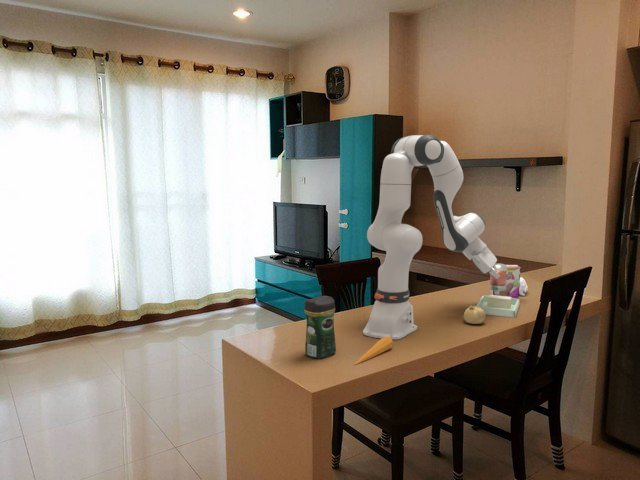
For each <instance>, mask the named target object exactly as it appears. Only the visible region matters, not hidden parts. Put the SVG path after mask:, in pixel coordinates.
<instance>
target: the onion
mask: <svg viewBox="0 0 640 480" xmlns="http://www.w3.org/2000/svg"><path fill="white" fill-rule="evenodd" d="M475 306H476V305H469V307H467V308H466V309H465V310H464V313H463V318H464V321H465V322H466V323H468V324H471V325H481V324H482V325H483V323H484V322H485V320H486V317H487V316H486V315H487V314H485V312H484V310H482V309H481V308H479V307H475Z"/></svg>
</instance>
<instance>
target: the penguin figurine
mask: <svg viewBox="0 0 640 480" xmlns="http://www.w3.org/2000/svg"><path fill="white" fill-rule="evenodd" d="M528 287H529V286H528V284H527V282H526V280H525V279H524V278H523V277H522V276H520V286H519V296H522V297H525V296H526V293H527V292H528Z"/></svg>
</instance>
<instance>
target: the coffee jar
mask: <svg viewBox="0 0 640 480" xmlns="http://www.w3.org/2000/svg"><path fill="white" fill-rule="evenodd" d="M335 312H336V304H335V299H334V298H333V297H332V296H328V295H321V296H317V297H313V298H310V299H309V298H308V299H306V300H305V301H304V314H305V317H306V329H305V334H306V335H305V345H304V348H305V349H304V351H305V355H306V356H307V357H309V358H312V359H314V358H315V359H323V358H326V357H329V356H331V355H334V354H336V351H337V345H336V344H337V343H336V336H335V323H334V322H335V321H334V320H335V318H334V317H335Z"/></svg>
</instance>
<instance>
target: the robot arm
mask: <svg viewBox="0 0 640 480" xmlns="http://www.w3.org/2000/svg"><path fill="white" fill-rule="evenodd" d="M421 166H426V167H427V168H428V170H429V173H430V175H431V177H432V181H433V188H434V189H433V191H434V192H433V194H432V195H433V196H432V197H433V198H432V199H433V204H434V207H435V212H436V214H437V218H438V221H439V225H440V229H441V235H442V241H443V245H444V246H445V248H446V249H447V250H448V251H451V252H454V253H462V254H463V255H464V256H465V257H466V258H467V259H468V260H469V261H471V260H472V262H473V264H474V265H475V266H476V267H477V268H478V269H479V270H480V272H481V273H483V274H487V273H489V275H490V274H491V275H493V276H494V277H495V278H496V279H498V278H499V277H500V275H499V274H498V273H497V272H496V271H495V270H494V269H493V268H492V267H493V266H494V264H495V263H497V261H498V259H497V257H496V255H495V254H494V253H493V252H492V251H491V249H490V248H488V246H487V245H488V244H486V242H485V241H483V240H481V238H480V237H479V236H480V235H481V234H483V232H485V230H486V222H485V220H484V218H483V217H482V216H481V215H480V214H478V213H476V212H473V211H472V212H468V213H466V214H464V215H461V216H457V215H454V214H453V213H454V212H453V210H452V205H453V201H454V199H455V197H456V195H457V193H458V191H459V190H460V189H461V187H462V185H463V182H464V178H465V177H464V172H463V169H462V166H461V164H460V162H459V159H458V157H457V156H456V154H455V152H454V150H453V149H452V147H451V146H450V144H449V143H448V142H446V141H445V140H440V139H439V138H438V137H436V136H434V135H432V134H424V135H422V134H415V135H414V134H412V135H407V136H403V137H401V138H398V139H397V140H396V141H395V142H394V143H393V145H392V146H391V151H390V153H389V154H387V155H386V156H385V157H384V159H383V161H382V168H381V171H380V172H381V173H380V180H379V181H380V184H379V203H378V209H377V212H376V216H375V218H374V221H373V223H371V224H370V226H368V228H367V232H366V238H367V242H368V243H369V244H370V245H371V246H372V247H374V248H376V249H378V250H381V251H385V252H386V254H385V258H384V260H383V261H384V262H383V263H382V264H380V266H379V267H378V269H377V288H376V292H375V294H374V299H375V301H374V304H373V306H372V309H371V312H370V315H369V319H368V320H367V321H368V322H367V323H366V325H365V326H364V328H363V330H362V335H364V336H367V337H370V338H376V339H382V338H383V337H385V336H387V337H390V338H391V339H392V340H401V339H402V338H404V337H406V336H408V335H410V334H411V333H413V332H415V331H417V330H418V326H417V325H416V324H414V306H413V305H412V304H411V303H410V289H409V272H410V266H411V264H412V260H413V258H414V256H415V255H416V254H417V253H418V252H419V251H420V250H421V248H422V246H423V241H424V240H423V235H422V233H421V230H419V229H418V228H416V227H415V226H412V225H410V224H407V223H402V220H403V216H404V215H405V213H406V211H407V210H408V209H410V207H411V196H412V195H411V194H412V172H413V169H414V168H415V167H421Z"/></svg>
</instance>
